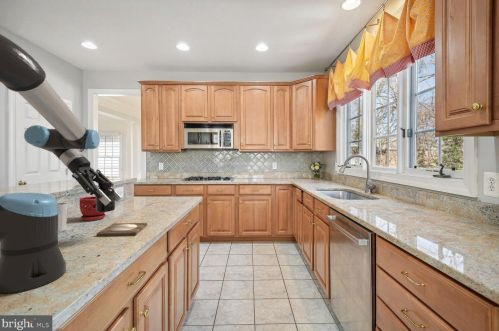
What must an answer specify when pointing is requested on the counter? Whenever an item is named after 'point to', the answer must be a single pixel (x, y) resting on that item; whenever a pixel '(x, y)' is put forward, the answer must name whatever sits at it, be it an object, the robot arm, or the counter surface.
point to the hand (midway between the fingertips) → (113, 201)
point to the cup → (62, 215)
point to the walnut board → (122, 229)
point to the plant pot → (90, 209)
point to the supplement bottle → (110, 193)
